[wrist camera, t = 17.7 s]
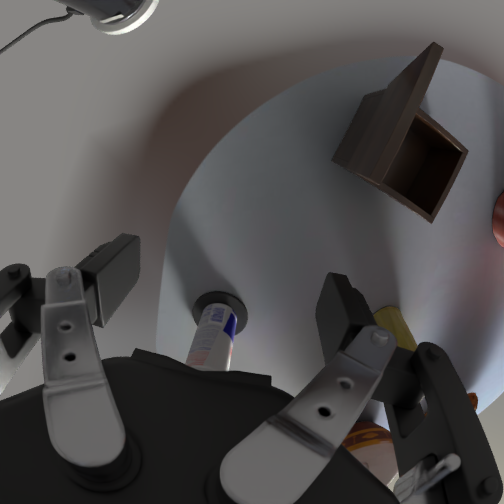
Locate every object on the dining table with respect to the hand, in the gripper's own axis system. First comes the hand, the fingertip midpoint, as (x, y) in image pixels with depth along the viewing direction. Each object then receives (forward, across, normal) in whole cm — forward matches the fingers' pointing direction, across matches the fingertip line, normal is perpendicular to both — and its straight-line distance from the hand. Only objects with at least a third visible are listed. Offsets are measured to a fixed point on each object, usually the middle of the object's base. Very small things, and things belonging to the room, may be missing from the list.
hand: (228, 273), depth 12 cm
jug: (+28, -36, +53) cm, 70 cm away
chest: (+28, -17, -7) cm, 33 cm away
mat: (+28, +2, +23) cm, 36 cm away
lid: (+12, -10, -9) cm, 18 cm away
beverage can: (+28, +2, +23) cm, 36 cm away
